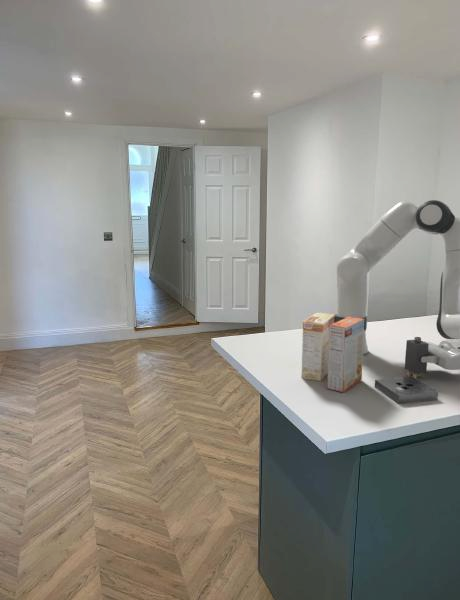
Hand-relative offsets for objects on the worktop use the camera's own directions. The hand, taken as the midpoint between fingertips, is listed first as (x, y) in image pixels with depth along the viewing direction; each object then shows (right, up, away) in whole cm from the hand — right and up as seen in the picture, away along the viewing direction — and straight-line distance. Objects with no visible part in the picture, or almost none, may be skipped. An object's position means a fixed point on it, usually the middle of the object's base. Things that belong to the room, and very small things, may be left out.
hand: (414, 356), depth 153 cm
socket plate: (-8, -10, -12) cm, 18 cm away
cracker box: (-25, -9, -5) cm, 27 cm away
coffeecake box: (-31, -7, +5) cm, 32 cm away
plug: (+1, -7, +2) cm, 7 cm away
